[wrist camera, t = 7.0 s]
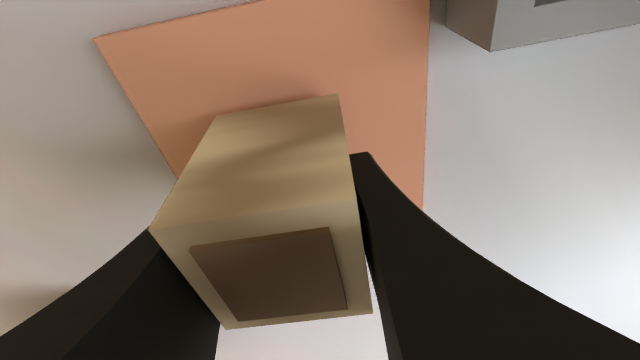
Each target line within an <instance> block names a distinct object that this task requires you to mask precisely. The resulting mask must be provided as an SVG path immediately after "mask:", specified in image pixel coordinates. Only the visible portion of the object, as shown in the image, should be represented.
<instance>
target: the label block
mask: <svg viewBox="0 0 640 360" xmlns="http://www.w3.org/2000/svg"><path fill="white" fill-rule="evenodd" d="M148 231H149V232H150V233H151V234H152V236H153V237H154V238H155V240H156V241H157V242H158V243H159V245H160V246H161V247H162V249H163V250H164V251H165V252H166V254H167V255H168V256H169V258H170V259H171V260H172V261H173V263H174V264H175V265H176V267H177V268H178V269H179V270H180V272H181V273H182V274H183V276H184V277H185V278H186V279H187V281H188V282H189V283H190V285H191V286H192V287H193V288H194V290H195V291H196V292H197V294H198V295H199V296H200V297H201V299H202V300H203V301H204V302H205V304H206V305H207V306H208V308H209V309H210V310H211V311H212V313H213V314H214V315H215V317H216V318H217V319H218V320H219V322H220V323H221V324H222V326H223V327H224V328H225V329H226V330H228V329H237V328H246V327H255V326H264V325H273V324H282V323H291V322H300V321H309V320H318V319H327V318H336V317H345V316H354V315H363V314H373V309H372V302H371V295H370V288H369V281H368V274H367V267H366V260H365V253H364V246H363V239H362V232H361V225H360V218H359V211H358V204H357V198H356V192H355V186H354V181H353V175H352V169H351V164H350V158H349V152H348V147H347V141H346V135H345V130H344V124H343V118H342V113H341V107H340V101H339V95H338V93H337V94H331V95H326V96H320V97H315V98H309V99H304V100H299V101H293V102H288V103H282V104H277V105H271V106H266V107H261V108H255V109H250V110H244V111H239V112H233V113H228V114H223V115H217V116H216V117H215V118H214V120H213V122H212V123H211V125H210V127H209V128H208V130H207V132H206V133H205V135H204V137H203V138H202V140H201V142H200V143H199V145H198V147H197V148H196V150H195V152H194V153H193V155H192V157H191V159H190V160H189V162H188V164H187V165H186V167H185V169H184V170H183V172H182V174H181V175H180V177H179V179H178V180H177V182H176V184H175V185H174V187H173V189H172V190H171V192H170V194H169V195H168V197H167V199H166V200H165V202H164V204H163V205H162V207H161V209H160V210H159V212H158V214H157V215H156V217H155V219H154V220H153V222H152V224H151V225H150V227H149V229H148Z"/></svg>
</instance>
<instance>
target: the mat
mask: <svg viewBox="0 0 640 360" xmlns="http://www.w3.org/2000/svg"><path fill="white" fill-rule="evenodd" d="M429 15H430V0H257V1H252V2H248V3H243V4H239V5H234V6H230V7H225V8H221V9H216V10H212V11H208V12H203V13H199V14H194V15H190V16H185V17H181V18H176V19H172V20H167V21H163V22H158V23H154V24H149V25H145V26H141V27H136V28H132V29H127V30H123V31H118V32H114V33H109V34H105V35H102V36H99V37H97V38H94V39H93V41H94V42H95V44H96V46H97V47H98V49H99V51H100V52H101V54H102V56H103V57H104V59H105V61H106V62H107V64H108V65H109V67H110V69H111V70H112V72H113V74H114V75H115V77H116V79H117V80H118V82H119V84H120V85H121V87H122V88H123V90H124V92H125V93H126V95H127V97H128V98H129V100H130V102H131V103H132V105H133V107H134V108H135V110H136V111H137V113H138V115H139V116H140V118H141V120H142V121H143V123H144V125H145V126H146V128H147V130H148V131H149V133H150V134H151V136H152V138H153V139H154V141H155V143H156V144H157V146H158V148H159V149H160V151H161V153H162V154H163V156H164V157H165V159H166V161H167V162H168V164H169V166H170V167H171V169H172V171H173V172H174V174H175V176H176V177H177V179H179V177H180V175H181V174H182V172H183V170H184V169H185V167H186V165H187V164H188V162H189V160H190V159H191V157H192V155H193V153H194V152H195V150H196V148H197V147H198V145H199V143H200V142H201V140H202V138H203V137H204V135H205V133H206V132H207V130H208V128H209V127H210V125H211V123H212V122H213V120H214V118H215V117H216V116H217V115H223V114H228V113H233V112H239V111H244V110H250V109H255V108H261V107H266V106H271V105H277V104H282V103H288V102H293V101H299V100H304V99H309V98H315V97H320V96H326V95H331V94H337V93H338V95H339V101H340V107H341V113H342V118H343V124H344V130H345V135H346V141H347V147H348V152H349V154H354V153H360V152H366V151H367V152H369V153H370V154H371V155H372V157H373V158H374V160H375V161H376V162H377V164H378V165H379V166H380V168H381V169H382V170H383V171H384V172H385V174H386V175H387V176H388V177H389V178H390V179H391V181H392V182H393V183H394V184H395V185H396V186H397V187H398V188H399V189H400V190H401V191H402V192H403V193H404V194H405V195H406V196H407V197H408V198H409V199H410V200H411V201H412V202H413V203H414V204H415V205H416V206H417V207H419V208H420V209H421V210H422V211H423V183H424V155H425V127H426V99H427V71H428V43H429Z"/></svg>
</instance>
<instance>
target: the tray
mask: <svg viewBox="0 0 640 360" xmlns="http://www.w3.org/2000/svg"><path fill="white" fill-rule="evenodd" d="M634 24H640V0H447V9H446V24H445V27H447V28H449V29H450V30H452V31H454V32H456V33H457V34H459V35H461V36H463V37H464V38H466V39H468V40H470V41H471V42H473V43H475V44H477V45H478V46H480V47H482V48H483V49H485V50H487V51H489V52H493V51H498V50H504V49H509V48H514V47H519V46H525V45H530V44H535V43H540V42H545V41H551V40H556V39H561V38H566V37H572V36H577V35H582V34H587V33H592V32H598V31H603V30H608V29H613V28H619V27H624V26H629V25H634Z"/></svg>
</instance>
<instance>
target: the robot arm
mask: <svg viewBox="0 0 640 360" xmlns="http://www.w3.org/2000/svg"><path fill="white" fill-rule="evenodd" d="M349 158H350V164H351V169H352V175H353V181H354V186H355V192H356V198H357V204H358V211H359V218H360V225H361V232H362V239H363V246H364V252H365V256H366V259H367V263H368V267H369V270H370V274H371V278H372V281H373V285H374V289H375V292H376V296H377V300H378V305H379V309H380V314H381V319H382V325H383V331H384V336H385V342H386V347H387V353H388V358H389V360H640V344H639V343H637V342H635V341H633V340H631V339H629V338H628V337H626V336H624V335H622V334H620V333H618V332H616V331H614V330H612V329H610V328H608V327H606V326H604V325H602V324H600V323H598V322H596V321H594V320H592V319H590V318H588V317H586V316H584V315H582V314H581V313H579V312H577V311H575V310H573V309H571V308H569V307H567V306H565V305H563V304H561V303H559V302H557V301H555V300H554V299H552V298H550V297H548V296H547V295H545V294H543V293H541V292H540V291H538V290H536V289H534V288H533V287H531V286H529V285H527V284H526V283H524V282H522V281H520V280H519V279H517V278H515V277H514V276H512V275H511V274H509V273H508V272H506V271H504V270H503V269H501V268H500V267H498V266H497V265H495V264H494V263H492V262H490V261H489V260H487V259H486V258H484V257H483V256H481V255H479V254H478V253H476V252H475V251H473V250H472V249H470V248H469V247H468V246H466V245H465V244H464V243H462V242H461V241H459V240H458V239H457V238H455V237H454V236H452V235H451V234H450V233H449V232H447V231H446V230H445V229H443V228H442V227H441V226H440V225H438V224H437V223H436V222H435V221H433V220H432V219H431V218H430V217H429V216H428V215H426V214H425V213H424V212H423V211H422V210H421V209H420V208H419V207H417V206H416V205H415V204H414V203H413V202H412V201H411V200H410V199H409V198H408V197H407V196H406V195H405V194H404V193H403V192H402V191H401V190H400V189H399V188H398V187H397V186H396V185H395V184H394V183H393V182H392V181H391V179H390V178H389V177H388V176H387V175H386V174H385V172H384V171H383V170H382V169H381V168H380V166H379V165H378V164H377V162H376V161H375V160H374V158H373V157H372V155H371V154H370V153H369V152H367V151H366V152H360V153H354V154H349ZM149 227H150V226H149ZM149 227H148V228H147V229H146V230H144V231H143V232H142V233H141V234H140V235H139V236H138V237H136V238H135V239H134V240H133V241H132V242H131V243H130V244H128V245H127V246H126V247H125V248H124V249H123V250H121V251H120V252H119V253H118V254H117V255H116V256H114V257H113V258H112V259H111V260H109V261H108V262H107V263H106V264H104V265H103V266H102V267H101V268H99V269H98V270H97V271H95V272H94V273H93V274H91V275H90V276H89V277H87V278H86V279H85V280H83V281H82V282H81V283H79V284H78V285H77V286H75V287H74V288H73V289H71V290H70V291H68V292H67V293H65V294H64V295H62V296H61V297H59V298H58V299H57V300H55V301H54V302H52V303H51V304H49V305H48V306H46V307H45V308H43V309H42V310H40V311H39V312H37V313H36V314H35V315H33V316H32V317H30V318H29V319H27V320H26V321H24V322H23V323H21V324H19V325H18V326H16V327H15V328H13V329H11V330H10V331H8V332H7V333H5V334H3V335H2V336H0V360H215V354H216V347H217V340H218V334H219V328H220V322H219V320H218V319H217V318H216V317H215V315H214V314H213V313H212V311H211V310H210V309H209V308H208V306H207V305H206V304H205V302H204V301H203V300H202V299H201V297H200V296H199V295H198V294H197V292H196V291H195V290H194V288H193V287H192V286H191V285H190V283H189V282H188V281H187V279H186V278H185V277H184V276H183V274H182V273H181V272H180V270H179V269H178V268H177V267H176V265H175V264H174V263H173V261H172V260H171V259H170V258H169V256H168V255H167V254H166V252H165V251H164V250H163V249H162V247H161V246H160V245H159V243H158V242H157V241H156V240H155V238H154V237H153V236H152V234H151V233H150V232H149V231H148V229H149Z"/></svg>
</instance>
